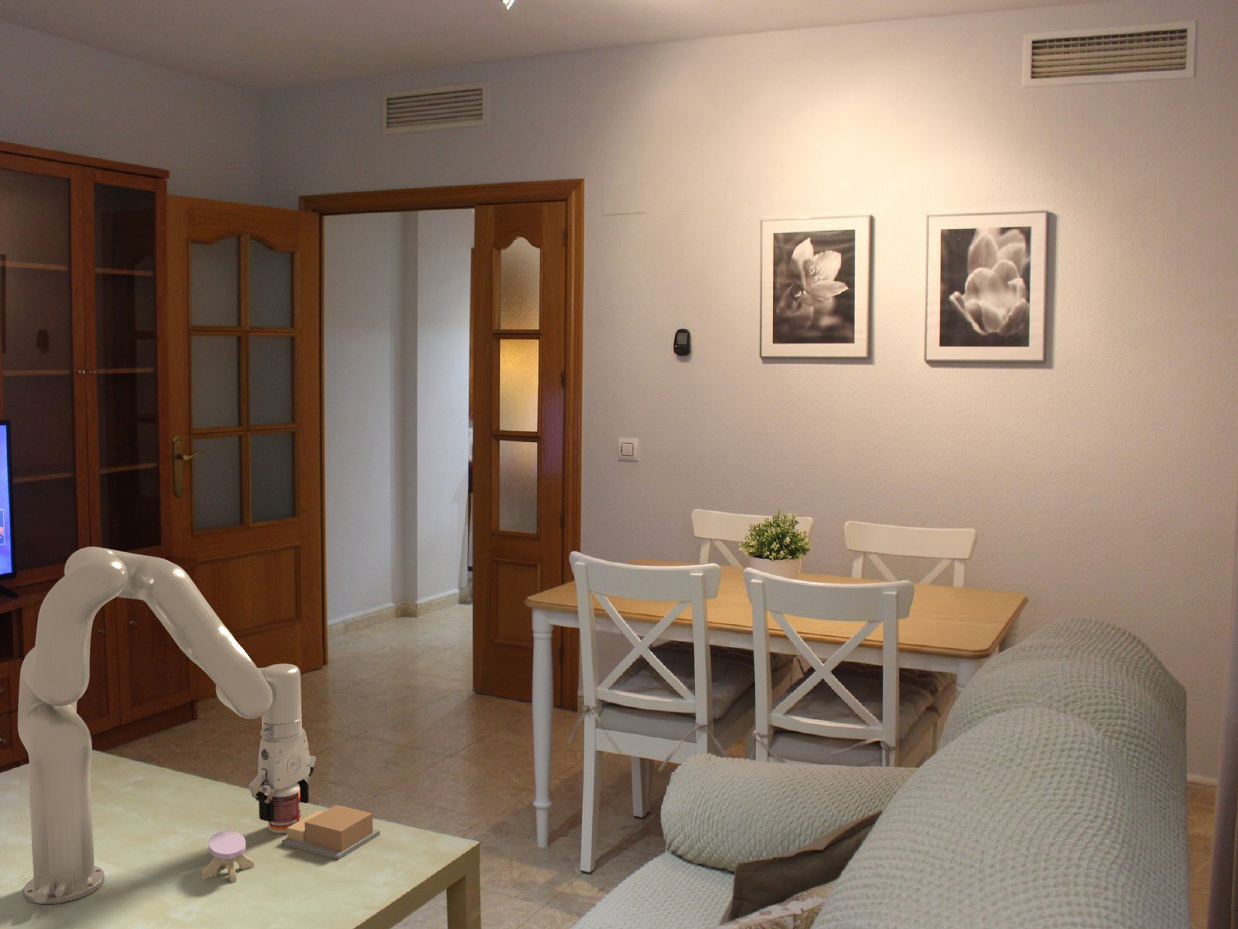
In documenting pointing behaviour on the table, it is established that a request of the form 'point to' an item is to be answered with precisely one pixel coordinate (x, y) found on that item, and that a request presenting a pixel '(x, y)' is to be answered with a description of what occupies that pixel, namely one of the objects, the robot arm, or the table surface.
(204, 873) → the toy table
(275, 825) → the pill bottle
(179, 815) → the table surface
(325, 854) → the stand
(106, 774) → the table surface
